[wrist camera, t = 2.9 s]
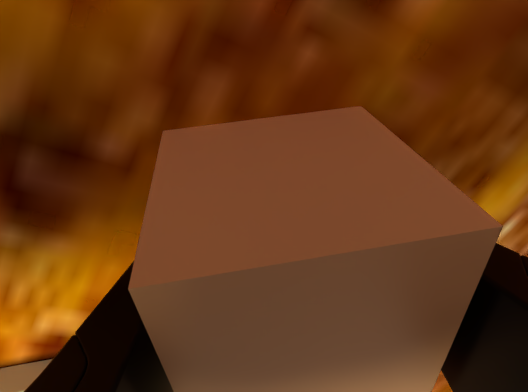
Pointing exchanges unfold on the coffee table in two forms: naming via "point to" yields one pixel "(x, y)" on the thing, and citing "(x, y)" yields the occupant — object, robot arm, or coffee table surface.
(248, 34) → the coffee table surface
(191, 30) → the coffee table surface
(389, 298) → the top brick
